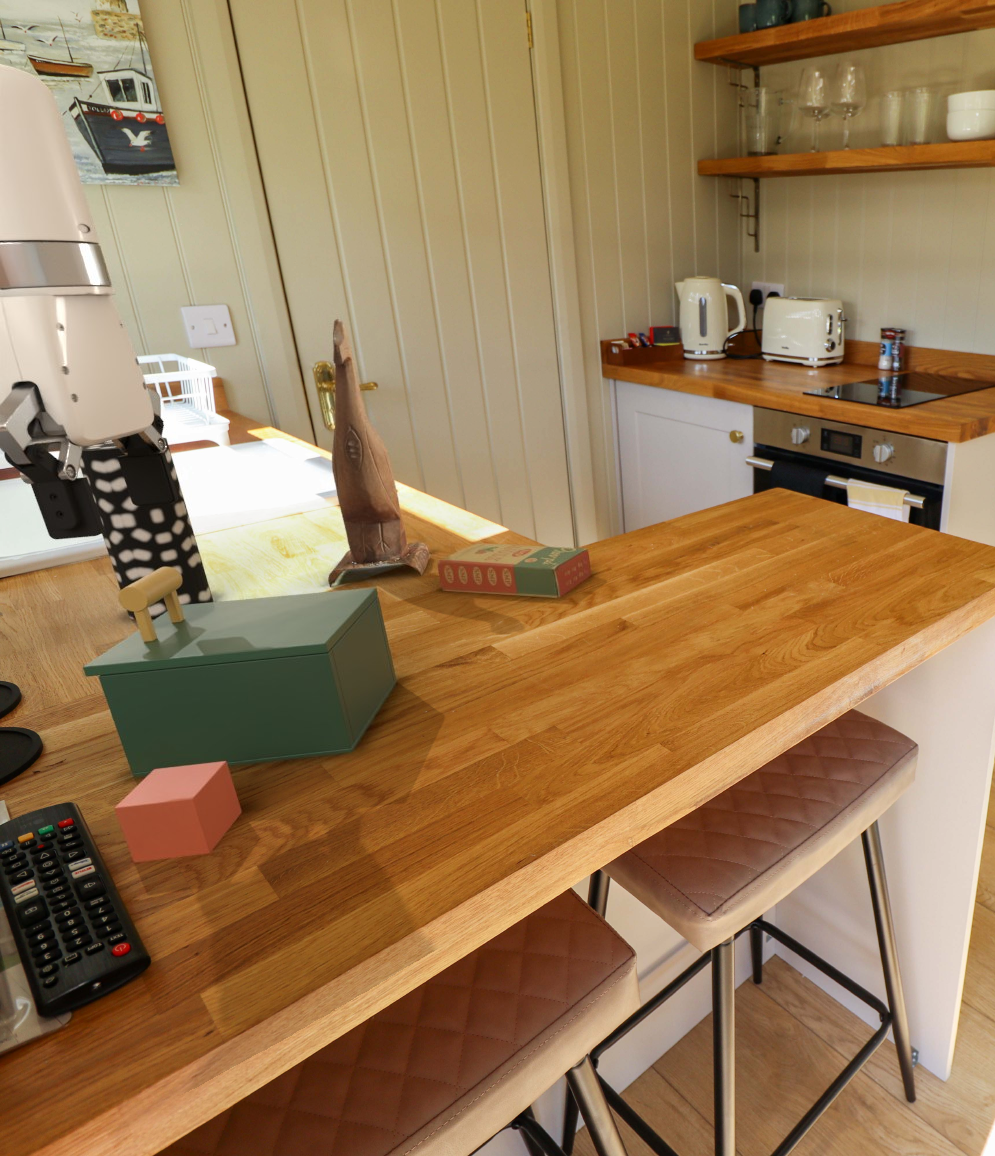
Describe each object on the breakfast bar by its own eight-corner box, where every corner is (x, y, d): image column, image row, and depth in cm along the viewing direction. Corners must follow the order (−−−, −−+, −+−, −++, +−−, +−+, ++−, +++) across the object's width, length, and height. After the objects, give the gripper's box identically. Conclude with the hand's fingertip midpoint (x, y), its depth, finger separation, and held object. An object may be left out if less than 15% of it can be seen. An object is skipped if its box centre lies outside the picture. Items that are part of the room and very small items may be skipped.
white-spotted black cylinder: (118, 615, 97) (63, 447, 91) (196, 594, 104) (149, 435, 97) (146, 628, 93) (90, 452, 86) (226, 605, 99) (179, 439, 93)
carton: (482, 572, 107) (477, 540, 105) (593, 578, 102) (589, 545, 101) (441, 593, 99) (435, 560, 98) (559, 601, 95) (555, 566, 93)
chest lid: (85, 677, 59) (60, 608, 57) (178, 614, 70) (160, 555, 69) (327, 652, 61) (311, 585, 59) (378, 595, 72) (366, 537, 71)
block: (212, 859, 52) (192, 798, 51) (135, 868, 52) (113, 808, 50) (243, 817, 57) (226, 760, 55) (173, 826, 56) (154, 768, 55)
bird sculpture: (329, 593, 102) (264, 322, 91) (343, 566, 112) (287, 321, 102) (425, 579, 105) (374, 317, 94) (430, 554, 115) (384, 316, 105)
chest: (134, 782, 62) (97, 676, 59) (215, 705, 73) (188, 613, 70) (353, 757, 64) (328, 653, 61) (398, 685, 75) (378, 596, 72)
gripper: (63, 281, 63) (133, 497, 69) (-134, 275, 47) (-23, 558, 53) (168, 276, 64) (228, 489, 70) (9, 267, 48) (104, 546, 54)
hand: (120, 518), depth 61 cm, fingers open, 9 cm apart
